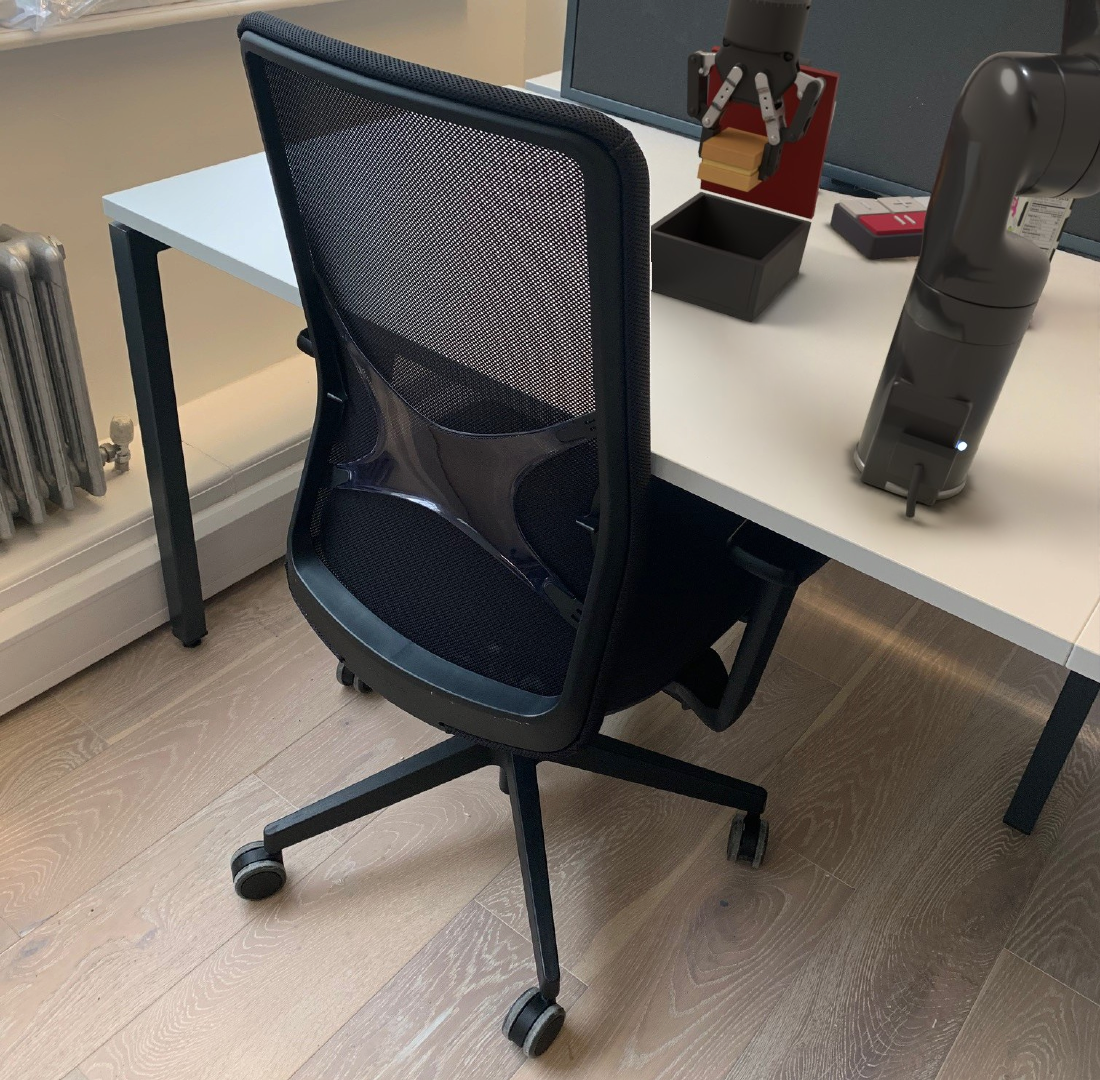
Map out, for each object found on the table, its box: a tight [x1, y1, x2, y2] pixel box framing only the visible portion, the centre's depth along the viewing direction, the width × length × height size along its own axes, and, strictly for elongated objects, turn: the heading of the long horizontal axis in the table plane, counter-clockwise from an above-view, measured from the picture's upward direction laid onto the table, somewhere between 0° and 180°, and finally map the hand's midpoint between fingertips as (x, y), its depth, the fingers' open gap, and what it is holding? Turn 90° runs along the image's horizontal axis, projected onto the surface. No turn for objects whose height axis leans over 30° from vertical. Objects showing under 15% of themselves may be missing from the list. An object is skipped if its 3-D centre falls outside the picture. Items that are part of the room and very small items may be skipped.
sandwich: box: [696, 127, 768, 192], centre depth 107 cm, size 7×6×4 cm
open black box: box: [650, 191, 812, 323], centre depth 116 cm, size 16×14×6 cm
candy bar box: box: [1006, 197, 1077, 264], centre depth 115 cm, size 11×5×16 cm, turn 168°
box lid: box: [699, 45, 841, 220], centre depth 114 cm, size 16×14×5 cm
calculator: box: [829, 195, 930, 261], centre depth 131 cm, size 11×4×15 cm
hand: (735, 170), depth 108 cm, fingers closed on sandwich, 5 cm apart
